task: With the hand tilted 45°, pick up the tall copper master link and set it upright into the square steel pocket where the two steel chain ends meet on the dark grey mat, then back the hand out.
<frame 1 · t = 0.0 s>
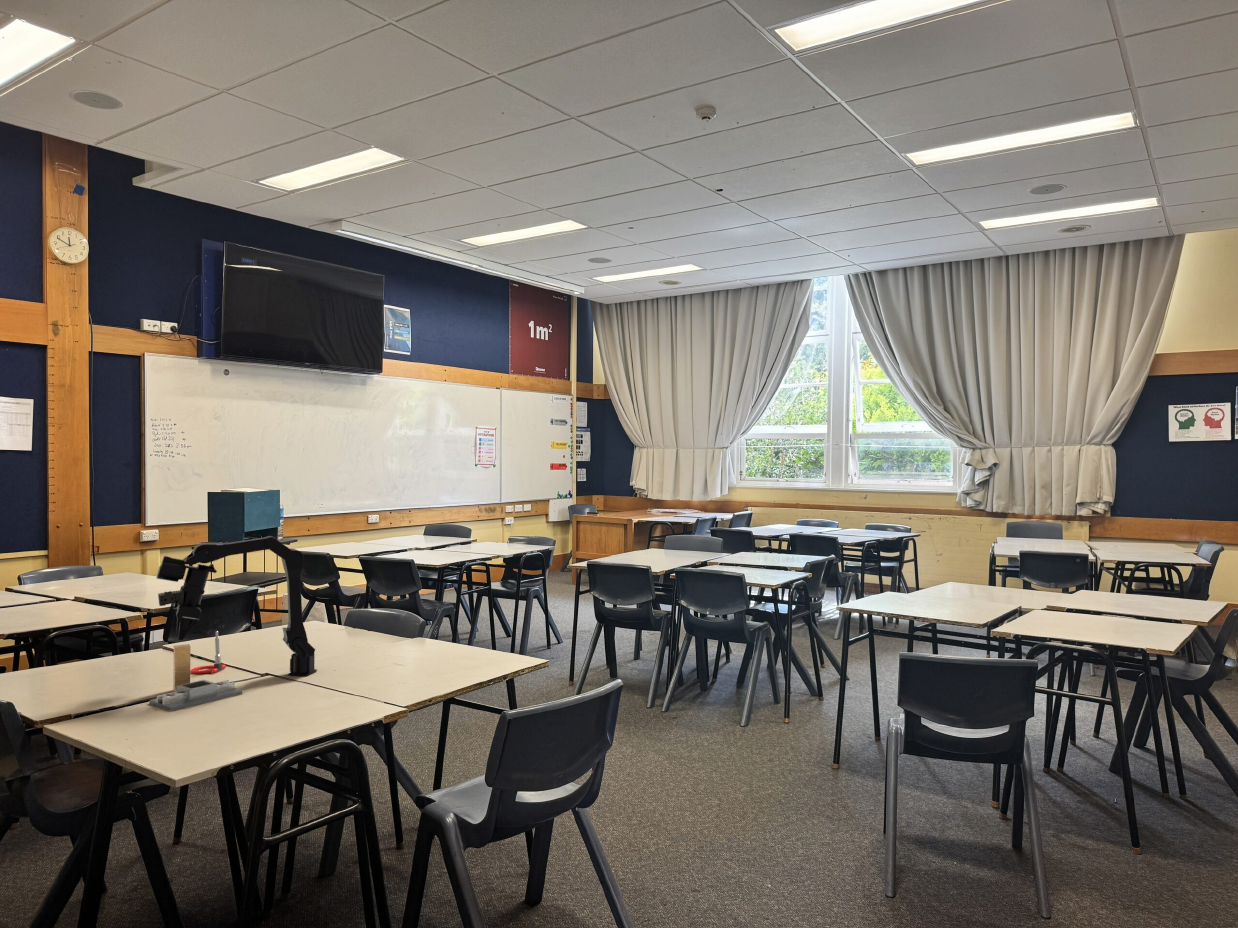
hand: (179, 636, 233), 15 cm above the table, tool pointing down, fingers open, 9 cm apart
chain ends: (196, 698, 223), on the table
master link: (181, 690, 232), on the table
tow hook: (206, 671, 254), on the table
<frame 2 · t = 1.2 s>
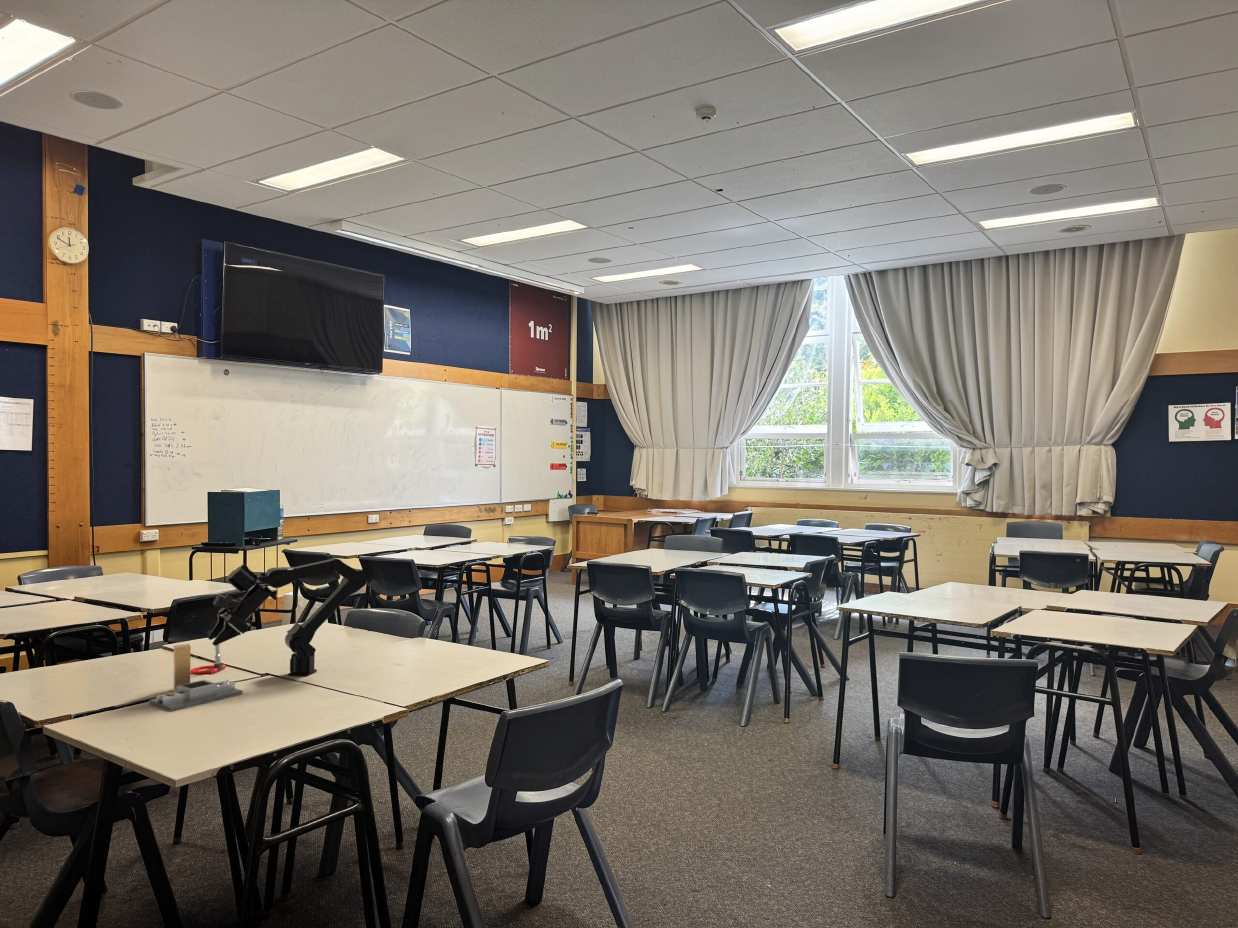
hand: (211, 641, 236), 13 cm above the table, tool tilted 45°, fingers open, 9 cm apart
nothing on the table moved.
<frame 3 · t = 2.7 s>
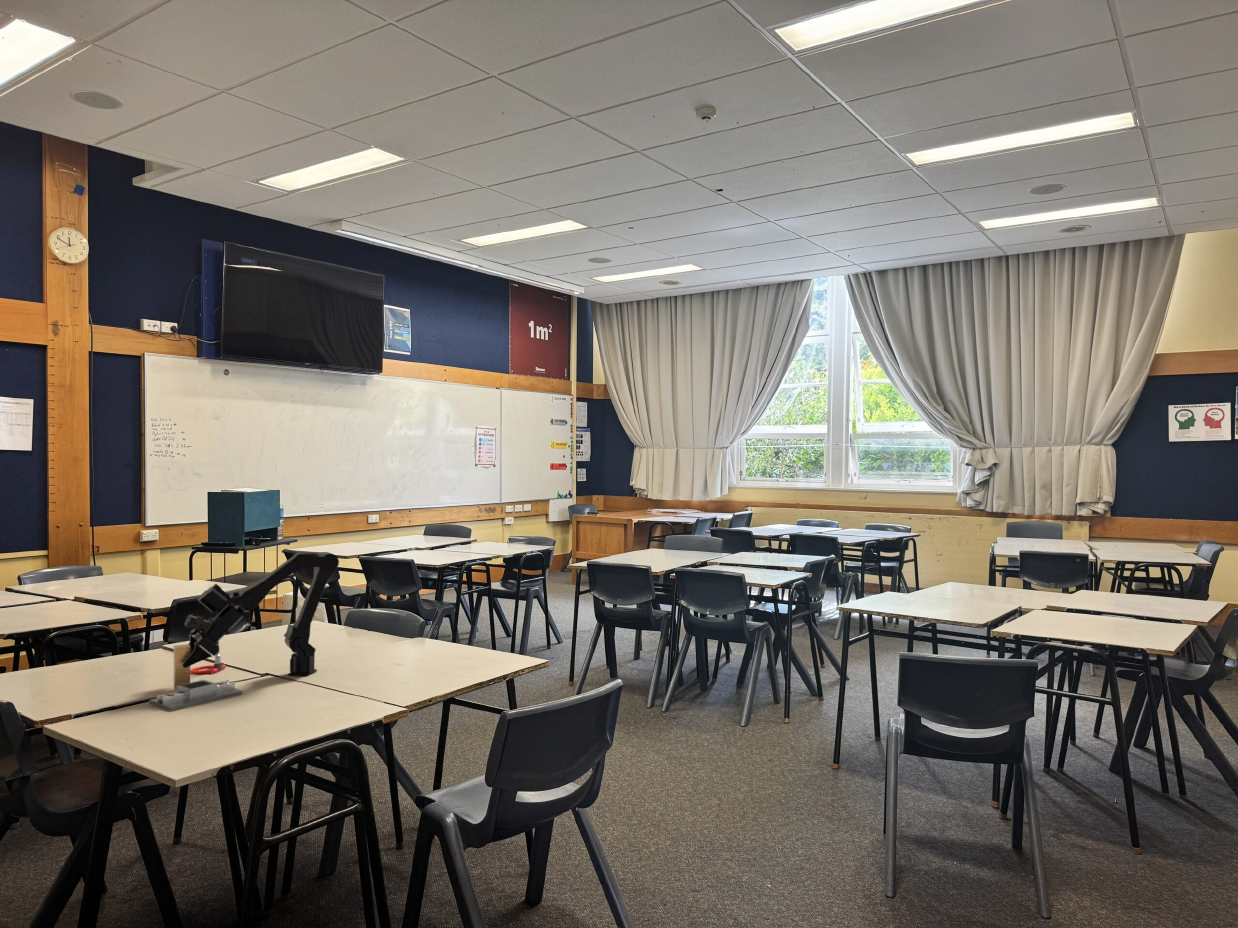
hand: (181, 663, 232), 8 cm above the table, tool tilted 45°, fingers open, 9 cm apart
nothing on the table moved.
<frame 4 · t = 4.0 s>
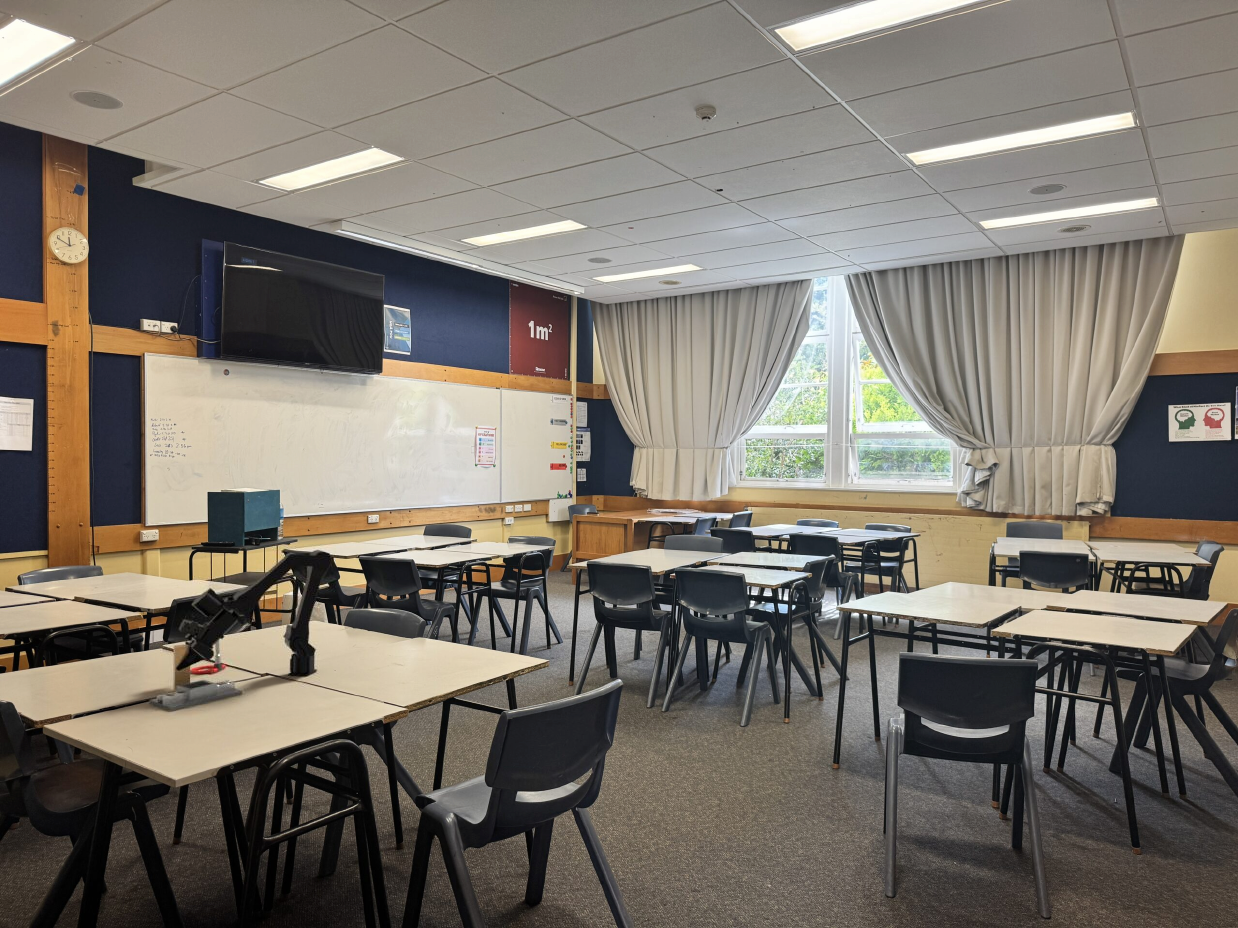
hand: (176, 668, 231), 7 cm above the table, tool tilted 45°, fingers closed on master link, 3 cm apart
master link: (181, 690, 232), on the table, touching gripper
everything else where it was.
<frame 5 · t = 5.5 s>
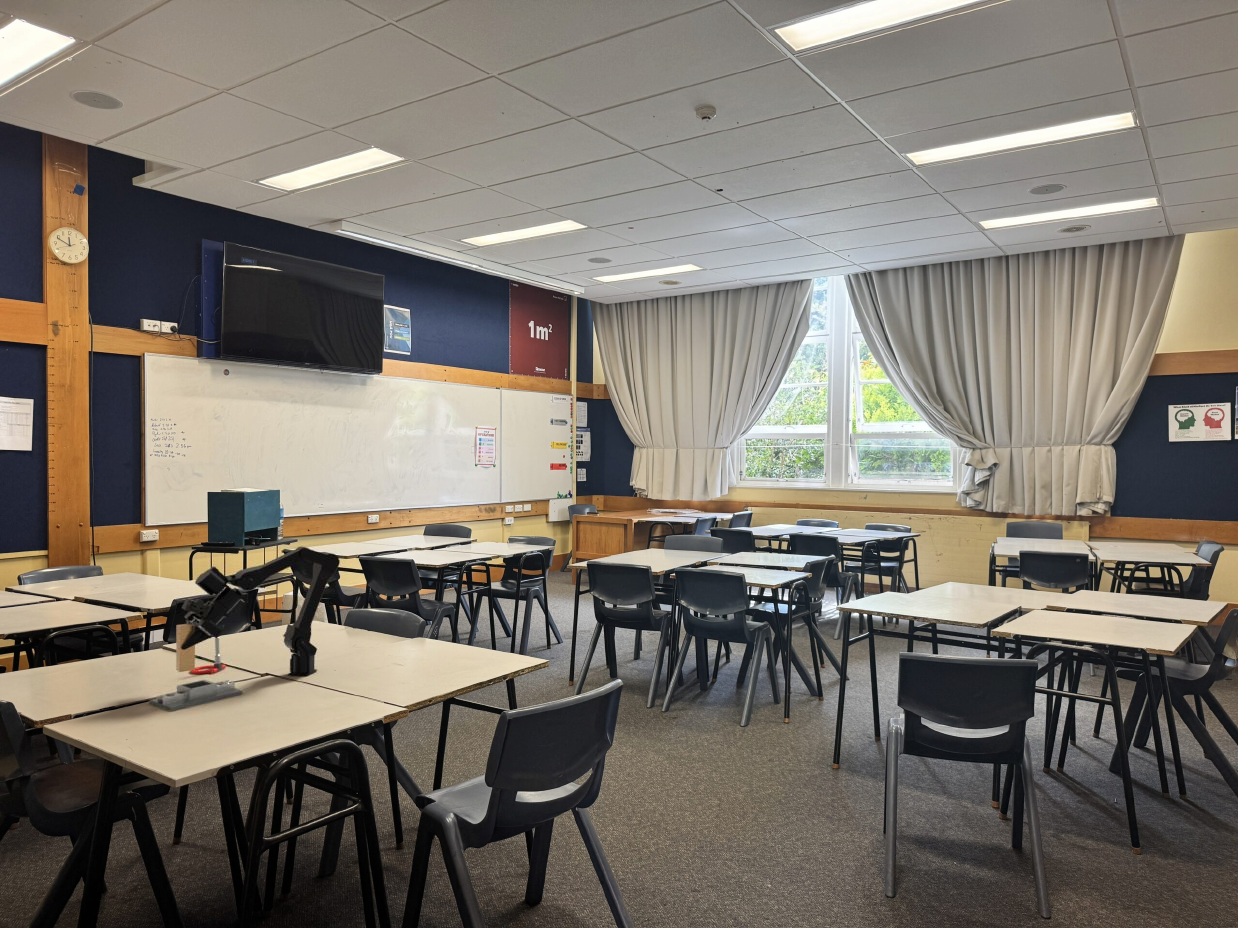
hand: (180, 647, 227), 13 cm above the table, tool tilted 45°, fingers closed on master link, 3 cm apart
master link: (185, 669, 228), point 7 cm above the table, touching gripper
everything else where it was.
when the fingers open (9 cm above the table, at t = 7.2 s): master link drops 1 cm, resting on chain ends.
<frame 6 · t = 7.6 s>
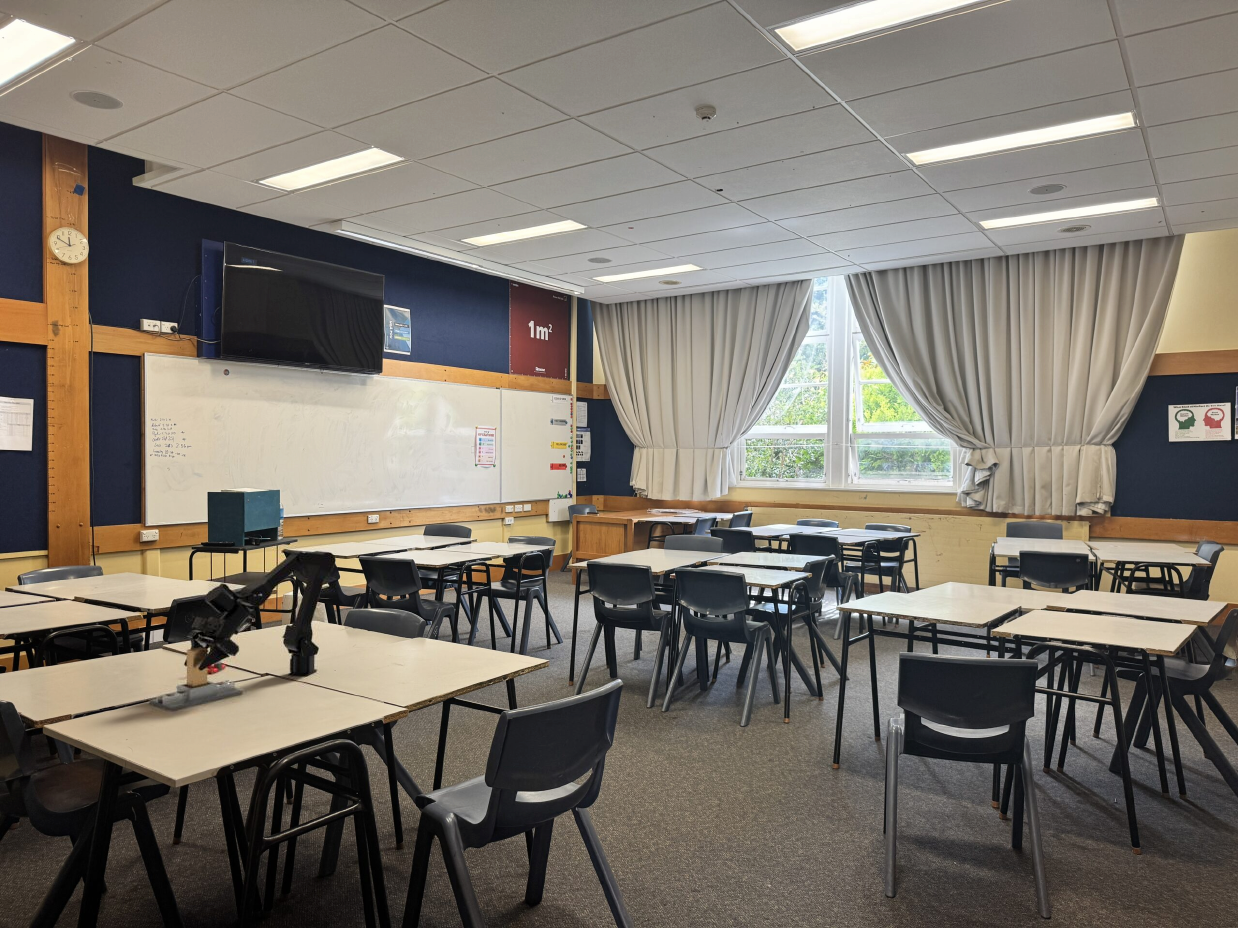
hand: (192, 667, 222), 9 cm above the table, tool tilted 45°, fingers open, 7 cm apart
master link: (196, 694, 223), point 1 cm above the table, touching chain ends
everything else where it was.
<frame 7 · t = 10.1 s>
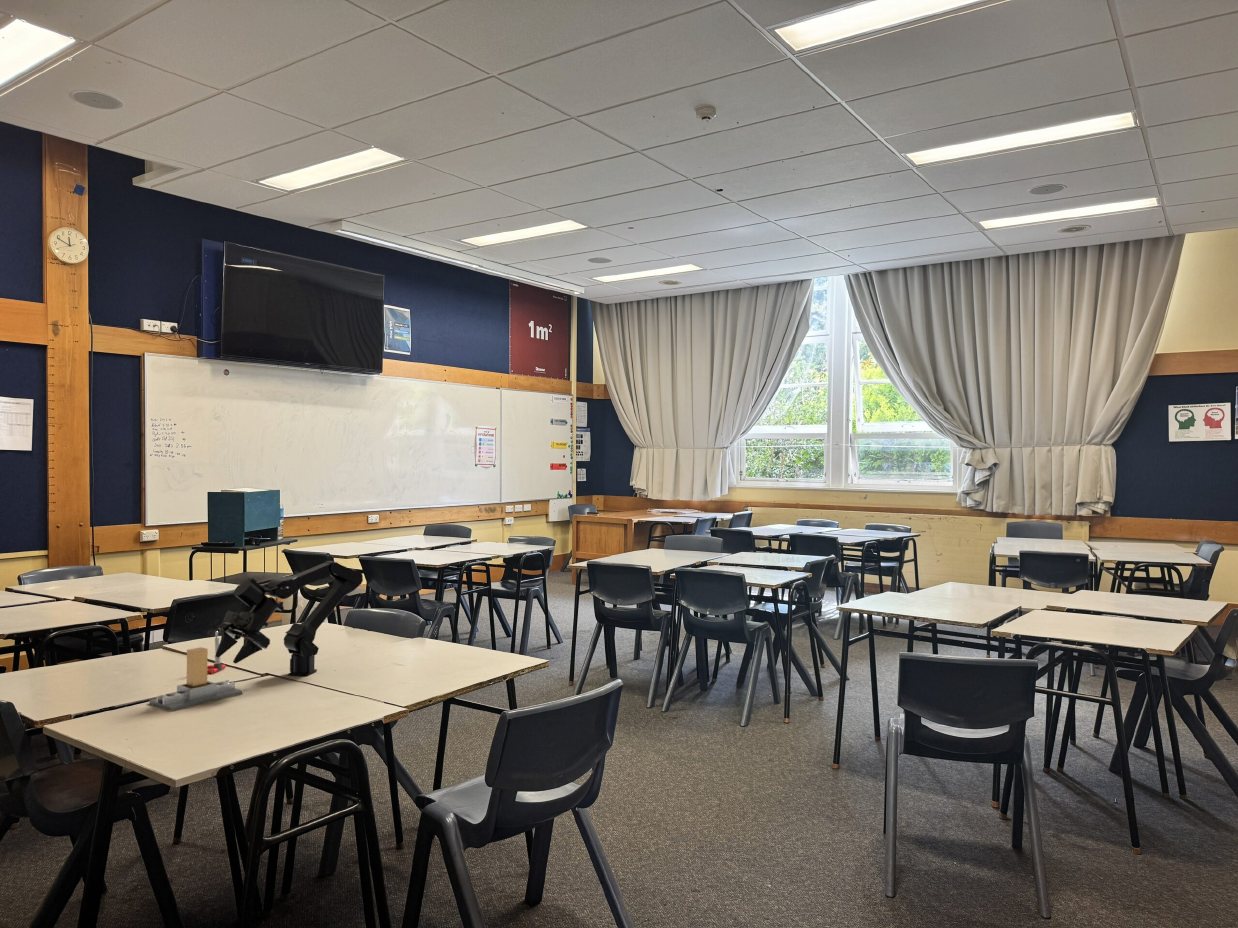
hand: (225, 659, 231), 9 cm above the table, tool tilted 40°, fingers open, 9 cm apart
nothing on the table moved.
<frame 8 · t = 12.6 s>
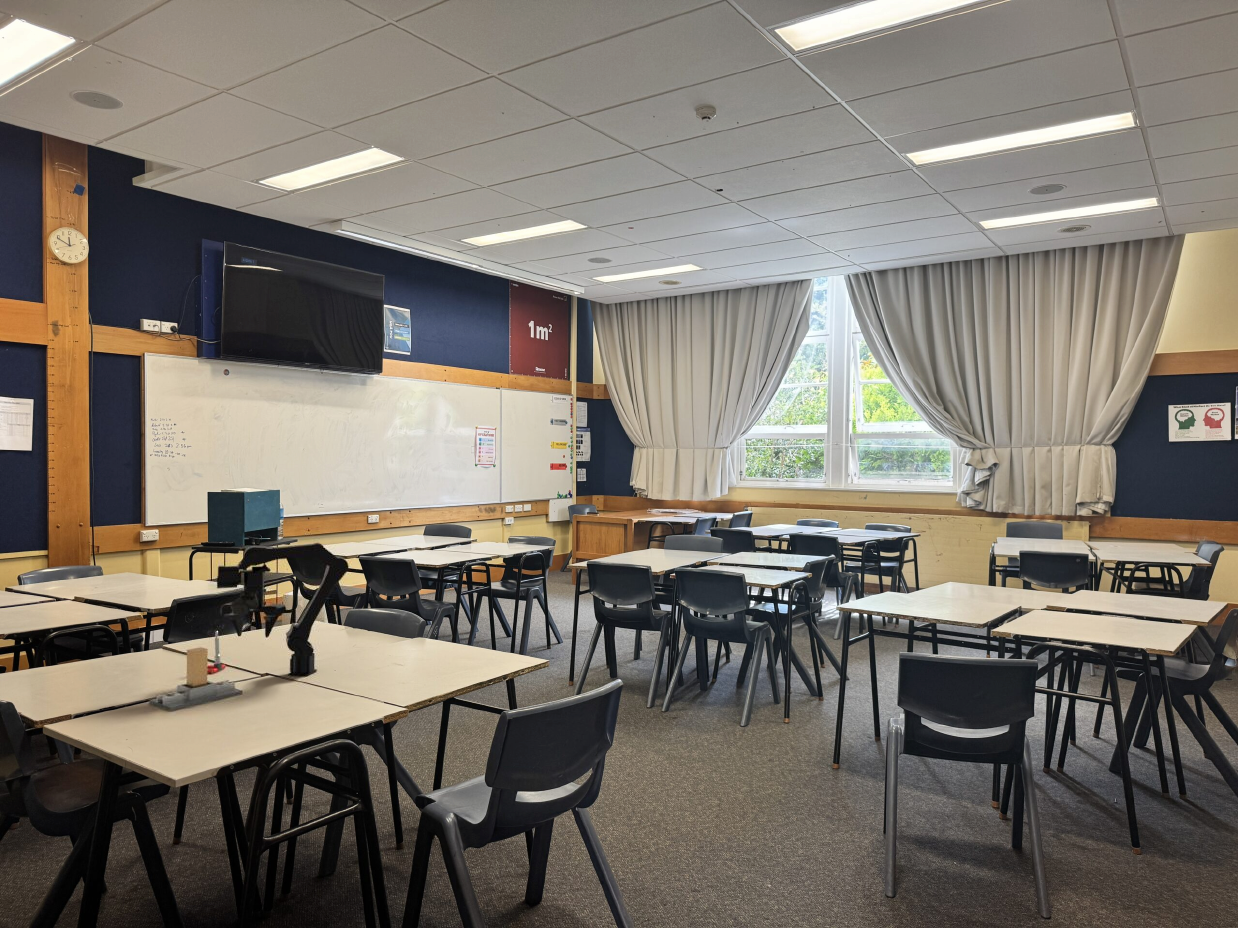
hand: (253, 636, 245), 13 cm above the table, tool pointing down, fingers open, 9 cm apart
nothing on the table moved.
at the end: master link 0.0 cm off-centre on the chain ends, point 1.0 cm above the chain ends's base; master link tilted 0°; the gripper is holding nothing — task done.
